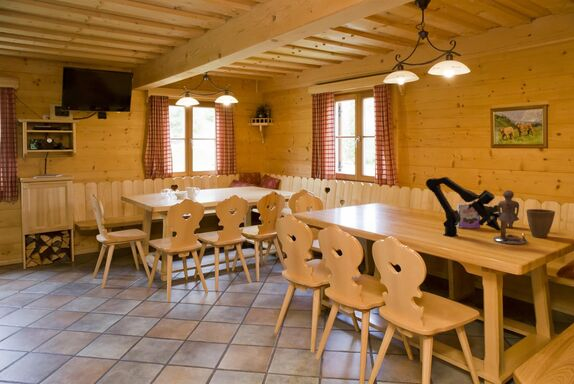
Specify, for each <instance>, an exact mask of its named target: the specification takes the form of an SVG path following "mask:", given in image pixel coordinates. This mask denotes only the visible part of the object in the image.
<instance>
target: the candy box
mask: <svg viewBox="0 0 574 384" xmlns="http://www.w3.org/2000/svg"><path fill="white" fill-rule="evenodd" d="M469 204H470V203H459V202H458V203H457V205H456V206H457V207H456V210H457V211H458V213H459V214H460V215H461V216H460V217H461V220H460V222H459V223H458V225H456V228H458V229H475V230H476V229H481V225H480V224H479V220H481V216H480V215H479V216H478V215H477V214H478V213H477V212H476V211H475V210H474V209H473V207H472V208H470V209H469V208H468V207H469Z"/></svg>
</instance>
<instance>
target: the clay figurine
mask: <svg viewBox="0 0 574 384" xmlns="http://www.w3.org/2000/svg"><path fill="white" fill-rule="evenodd" d="M502 195H503V197H504V199H505V200H501V201H499V202H498V203H497V205H498V206H499V207H501V208H500V209H501V211H499V212H498V213H499V214H500V215H501V216H500V217H499V218H498V219H497V220H498V221H499V222H501V220H505V221H506V228H507V227H508V228H513V227H514V226H513V224H514V222H516V221H519V220H520V218H519V217H518V216H519V212H520V204H519V202H518V201H515V200H513V197H514V195H515V193H514V191H512V190H509V189H508V190H505V191H504V192H503V193H502Z"/></svg>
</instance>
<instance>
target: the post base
mask: <svg viewBox="0 0 574 384" xmlns="http://www.w3.org/2000/svg"><path fill="white" fill-rule="evenodd" d="M500 236H501V235H498V236H497V235H496V236H494V237H493V242H495V243H498V244H503V245H509V246H521V245H526V244H527V242H528V240H527V239H526V233H522V237H520V236H519V238H521V239H523V241H517V240H501V238H500Z"/></svg>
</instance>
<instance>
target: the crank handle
mask: <svg viewBox="0 0 574 384" xmlns="http://www.w3.org/2000/svg"><path fill="white" fill-rule="evenodd" d="M500 229H501V230H500V235H499V236H500V238H501V240H517V241H523V239H521V238H522V237H520V236H518V235H514V234H510V233H509V234H507V233H506V231H507V227H506V221H505V220H501V221H500ZM519 237H520V238H519Z"/></svg>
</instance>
